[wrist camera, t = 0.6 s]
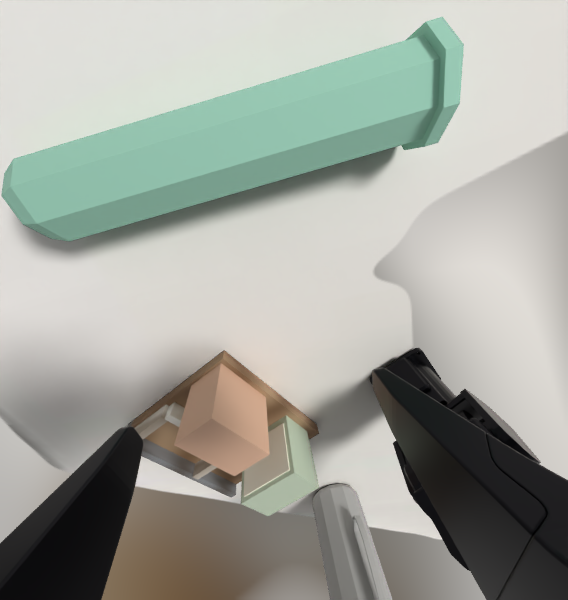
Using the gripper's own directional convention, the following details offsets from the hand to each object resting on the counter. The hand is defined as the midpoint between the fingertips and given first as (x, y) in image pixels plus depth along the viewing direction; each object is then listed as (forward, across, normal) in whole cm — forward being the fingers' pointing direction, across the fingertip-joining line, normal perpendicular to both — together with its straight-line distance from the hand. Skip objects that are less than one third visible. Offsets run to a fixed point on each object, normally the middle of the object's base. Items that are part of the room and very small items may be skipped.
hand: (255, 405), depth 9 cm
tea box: (+12, +3, +20) cm, 23 cm away
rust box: (+12, +6, +11) cm, 17 cm away
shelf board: (+14, +8, +17) cm, 23 cm away
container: (+14, 0, -9) cm, 17 cm away
